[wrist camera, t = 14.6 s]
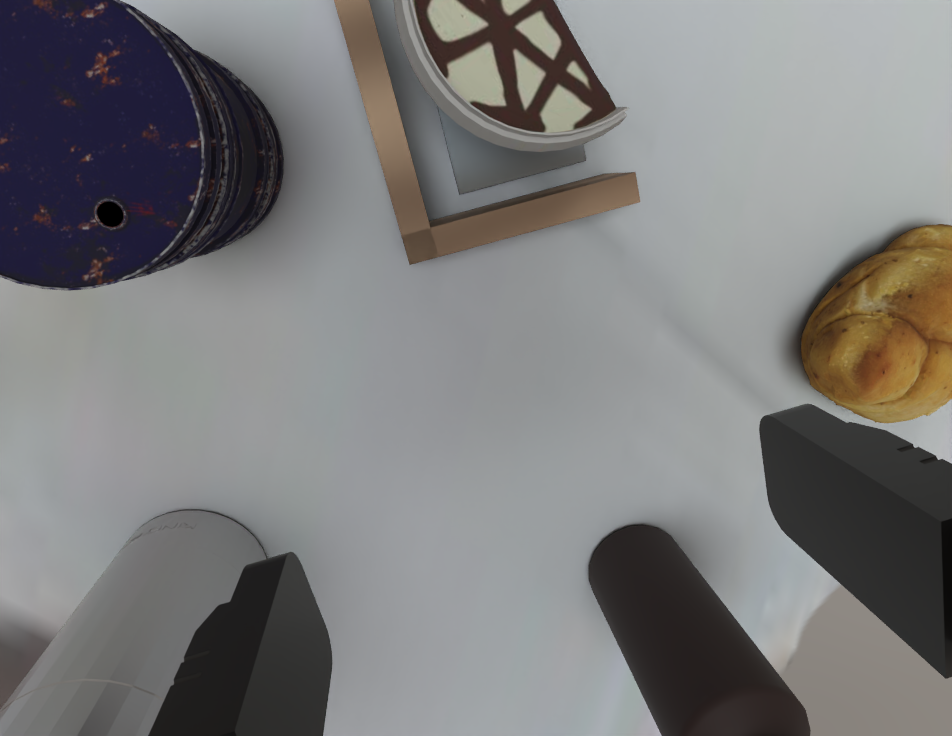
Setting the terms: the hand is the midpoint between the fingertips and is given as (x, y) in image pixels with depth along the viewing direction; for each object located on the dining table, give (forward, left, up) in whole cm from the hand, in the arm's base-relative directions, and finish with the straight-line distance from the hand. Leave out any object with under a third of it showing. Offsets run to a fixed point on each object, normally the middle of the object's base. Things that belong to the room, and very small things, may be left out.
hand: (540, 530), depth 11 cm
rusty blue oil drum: (+10, +11, -28) cm, 32 cm away
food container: (+11, -4, -28) cm, 30 cm away
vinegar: (-23, -8, -28) cm, 37 cm away
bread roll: (-10, -27, -28) cm, 40 cm away
